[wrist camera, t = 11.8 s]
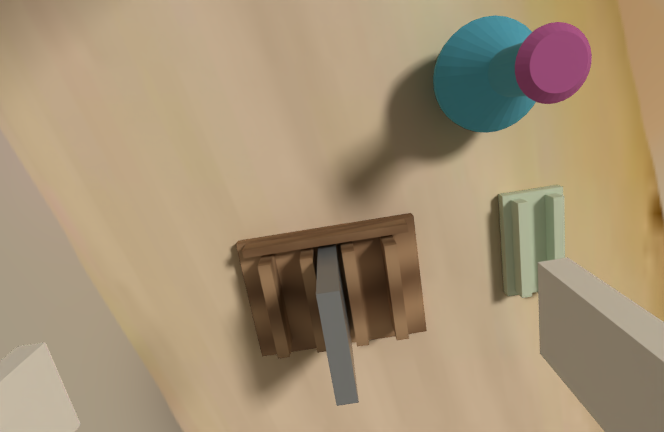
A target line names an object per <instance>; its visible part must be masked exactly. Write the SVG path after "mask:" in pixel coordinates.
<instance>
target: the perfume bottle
mask: <svg viewBox="0 0 664 432" xmlns="http://www.w3.org/2000/svg"><path fill="white" fill-rule="evenodd" d="M591 56H592V55H591V48H590V45H589V42H588V40H587V38H586V37H585V35H584V34H583V33H582V32H581V31H580V30H579V29H578V28H576V27H575V26H573V25H571V24H567V23H562V22H555V23H549V24H546V25H543V26H541V27H539V28H538V29H536V30H534V31H533V32H531V31H530V30H529V29H528V28H527V27H526V26H525V25H524V24H522V23H520V22H518V21H517V20H514V19H511V18H508V17H504V16H488V17H482V18H479V19H476V20H474V21H471V22H470V23H468V24H466V25H465V26H463V27H461V28H460V29H459V30H458V31H457V32H456V33H455V34H453V35H452V36H451V38H450V39H449V40H448V41H447V43H446V44H445V45H444V46H443V48H442V50H441V52H440V54H439V56H438V58H437V61H436V65H435V68H434V76H433V84H434V92H435V96H436V99H437V102H438V104H439V106H440V108H441V109H442V111H443V112H444V113H445V115H446V116H447V117H448V118H449V119H450V120H452V121H453V122H454V123H456V124H458V125H459V126H461V127H463V128H465V129H468V130H472V131H475V132H494V131H498V130H502V129H505V128H507V127H509V126H511V125H513V124H515V123H516V122H518V121H519V120H520V119H521V118H523V117H524V116H525V115H526V114H527V113H528V111H529V110H530V109H531V108H532V107H533V105H534V104H535V102H539V103H544V104H552V103H557V102H560V101H563V100H565V99H567V98H569V97H571V96H572V95H573V94H574V93H576V92H577V91H578V89H579V88H580V87H581V86H582V85H583V83H584V82H585V80H586V78H587V76H588V73H589V71H590V66H591Z"/></svg>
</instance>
